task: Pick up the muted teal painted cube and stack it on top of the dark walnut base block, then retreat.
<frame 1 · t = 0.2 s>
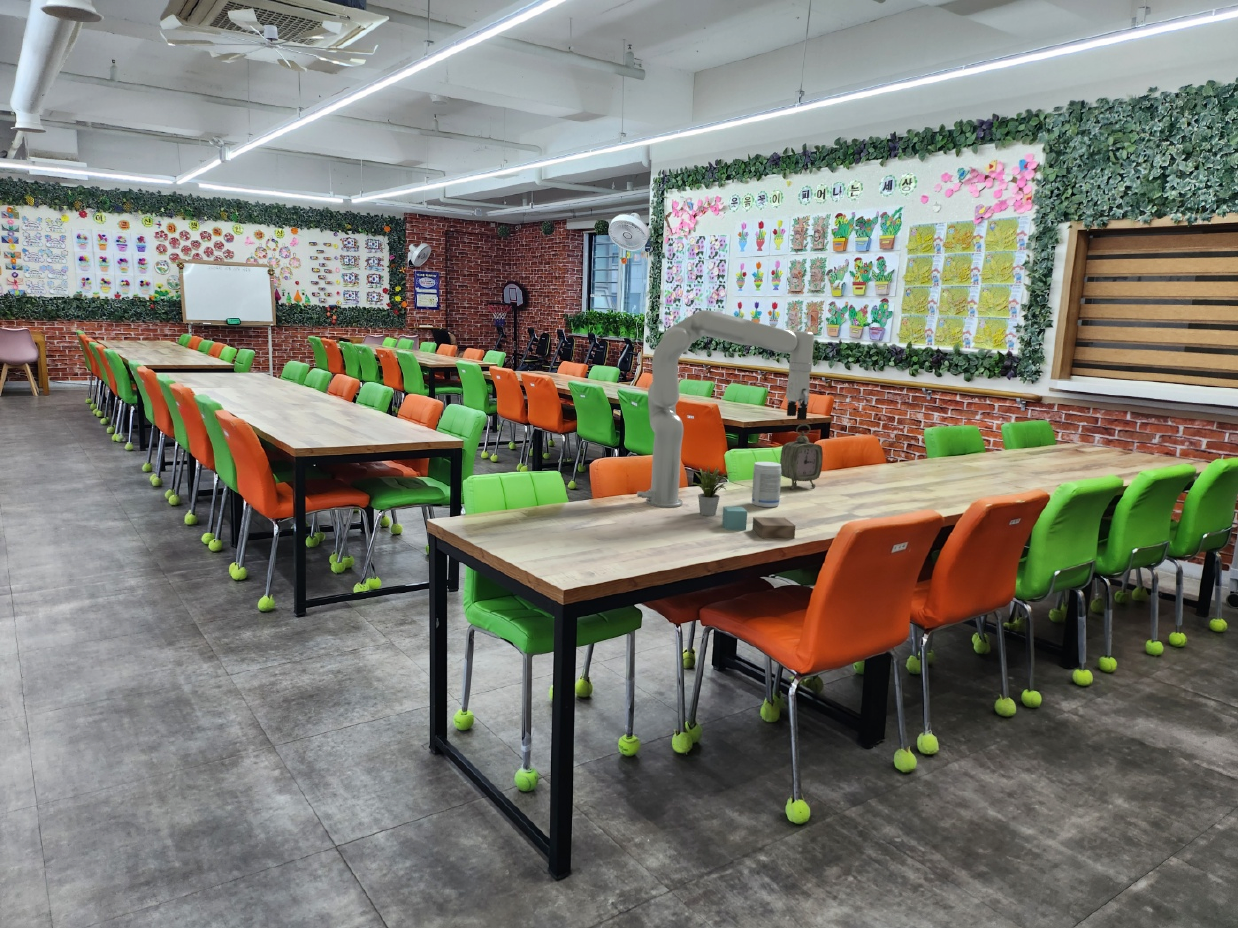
hand: (796, 417, 292), 31 cm above the table, tool pointing down, fingers open, 9 cm apart
walnut base: (773, 534, 256), on the table
house plant: (709, 515, 278), on the table
tabletop clock: (798, 488, 330), on the table
supplement tub: (765, 505, 297), on the table
teal cube: (733, 527, 263), on the table
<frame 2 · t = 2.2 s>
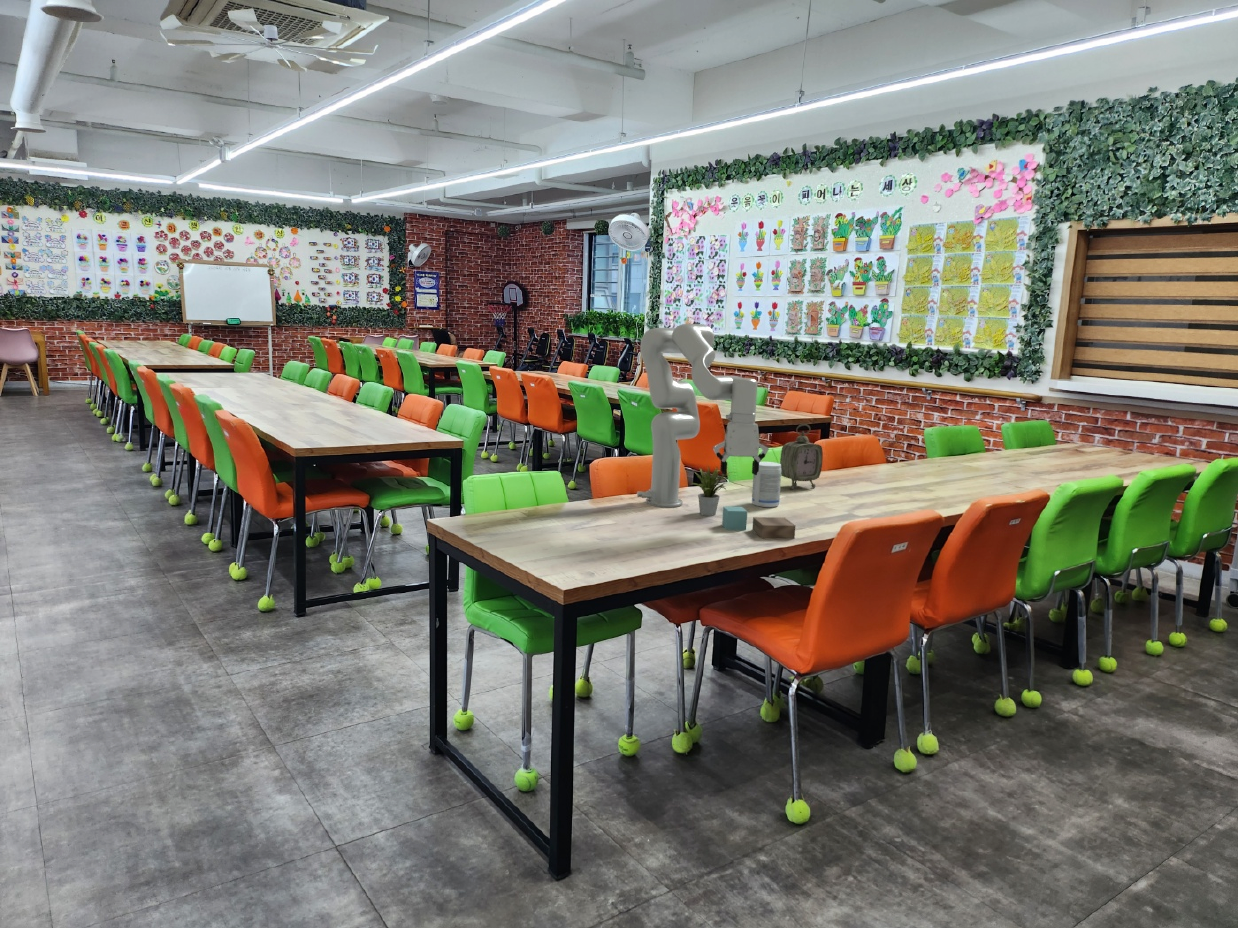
hand: (739, 474, 260), 17 cm above the table, tool pointing down, fingers open, 9 cm apart
nothing on the table moved.
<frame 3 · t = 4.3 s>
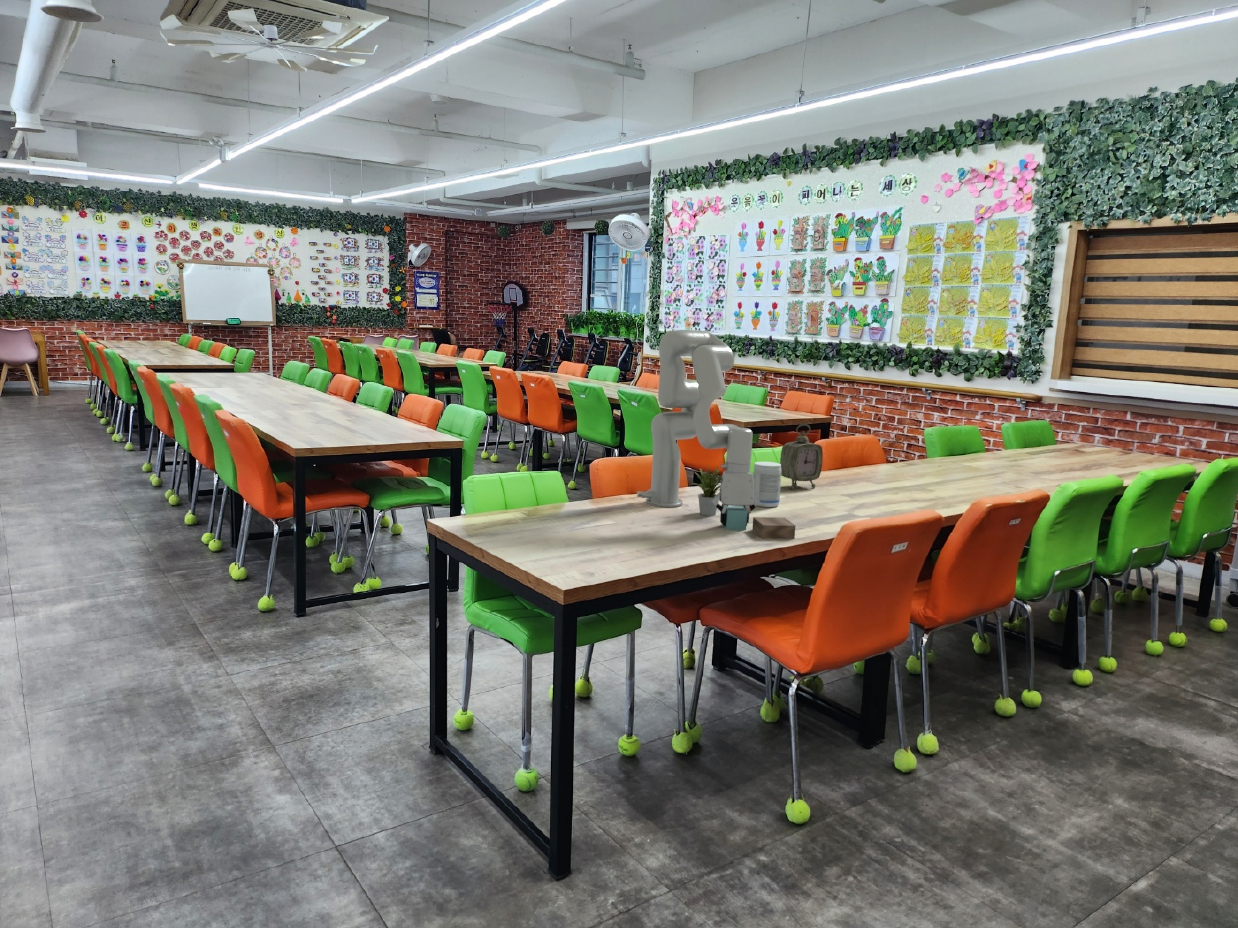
hand: (734, 524, 263), 1 cm above the table, tool pointing down, fingers closed on teal cube, 6 cm apart
teal cube: (734, 527, 263), on the table, touching gripper
everything else where it was.
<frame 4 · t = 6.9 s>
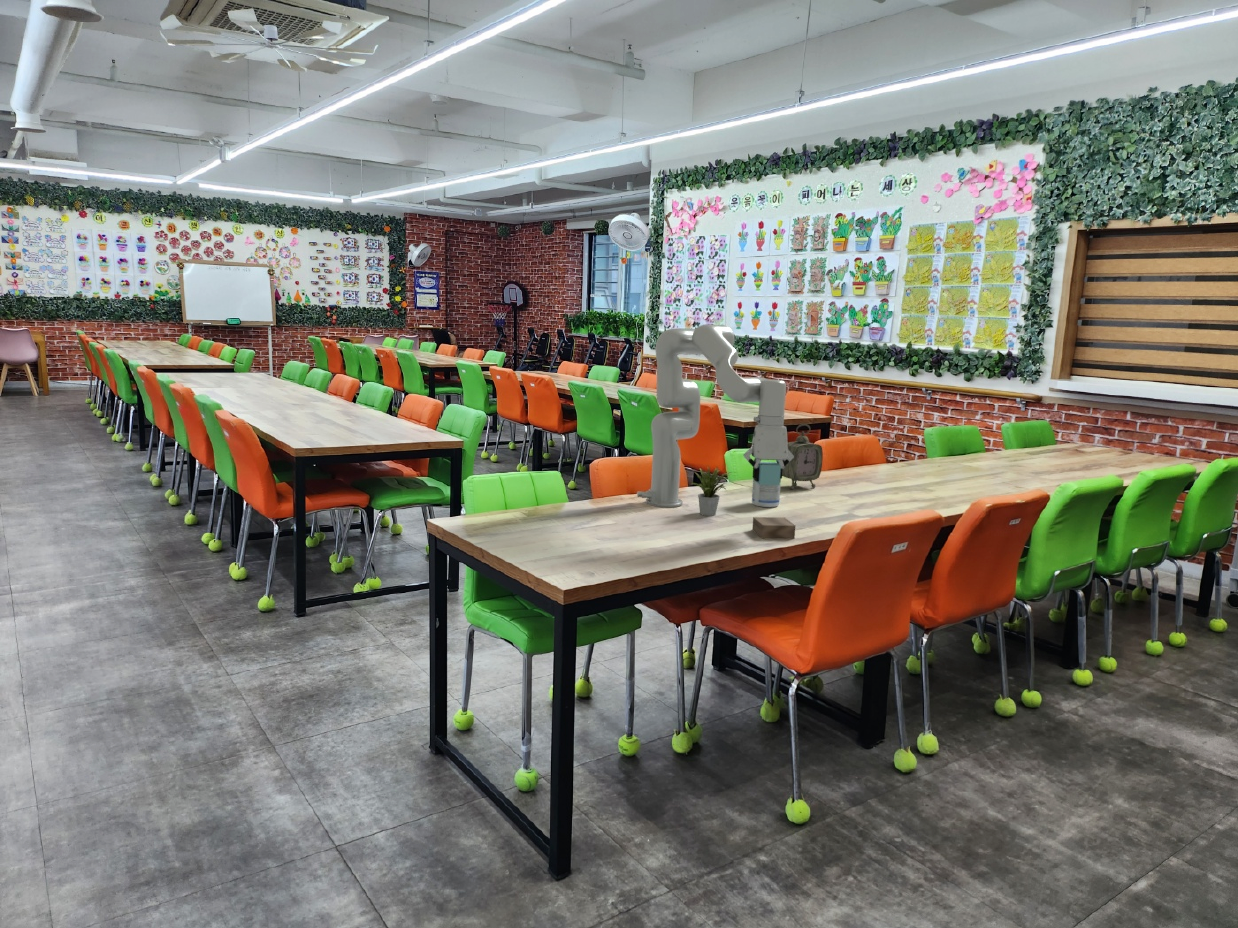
hand: (767, 480, 255), 16 cm above the table, tool pointing down, fingers closed on teal cube, 6 cm apart
teal cube: (766, 483, 255), point 15 cm above the table, touching gripper
everything else where it was.
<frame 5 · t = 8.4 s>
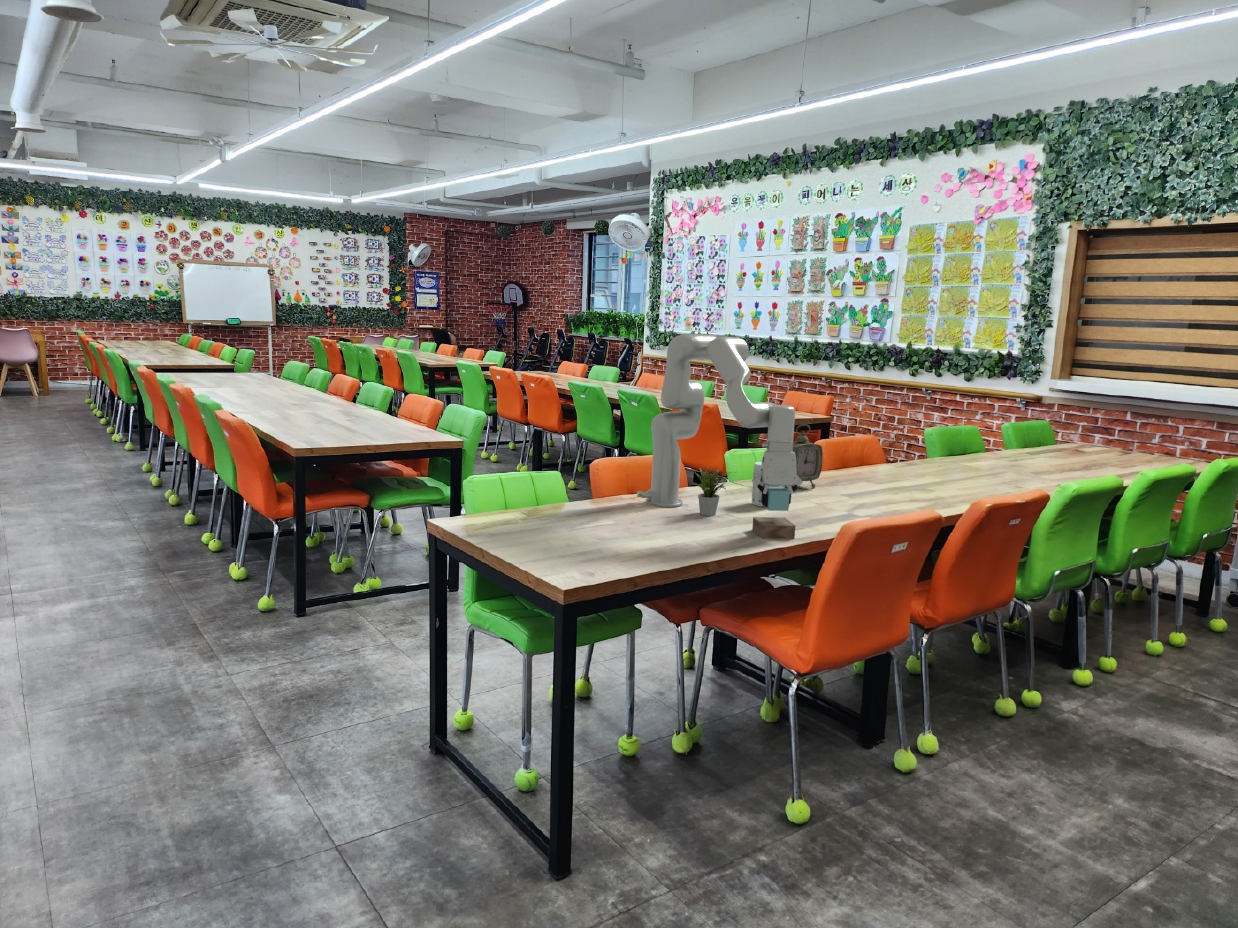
hand: (775, 505, 255), 9 cm above the table, tool pointing down, fingers closed on teal cube, 6 cm apart
teal cube: (775, 508, 255), point 8 cm above the table, touching gripper
everything else where it was.
when the fingers open (6 cm above the table, at t = 9.4 s): teal cube drops 1 cm, resting on walnut base.
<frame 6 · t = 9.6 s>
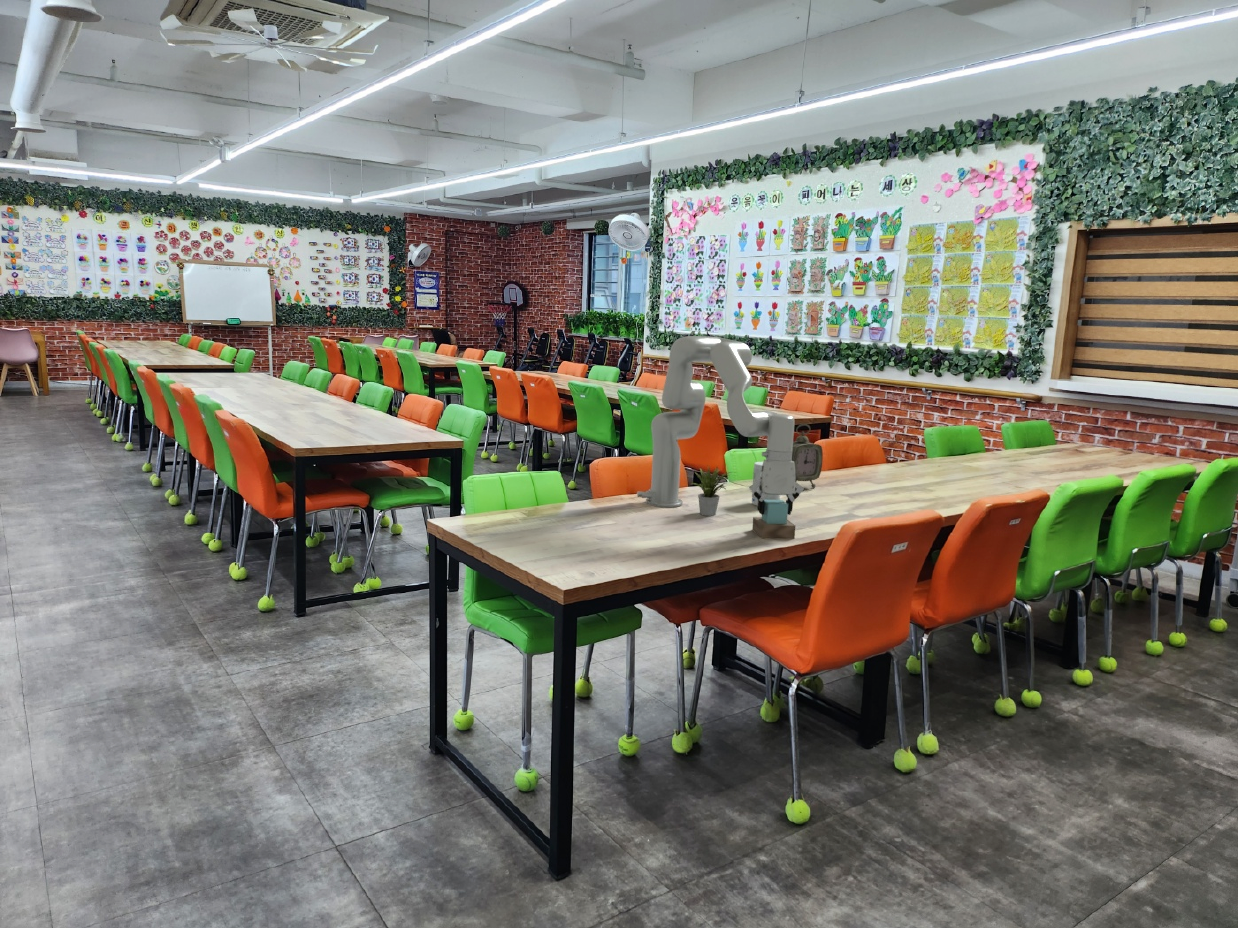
hand: (774, 513, 255), 6 cm above the table, tool pointing down, fingers open, 7 cm apart
teal cube: (774, 521, 256), point 4 cm above the table, touching walnut base
everything else where it was.
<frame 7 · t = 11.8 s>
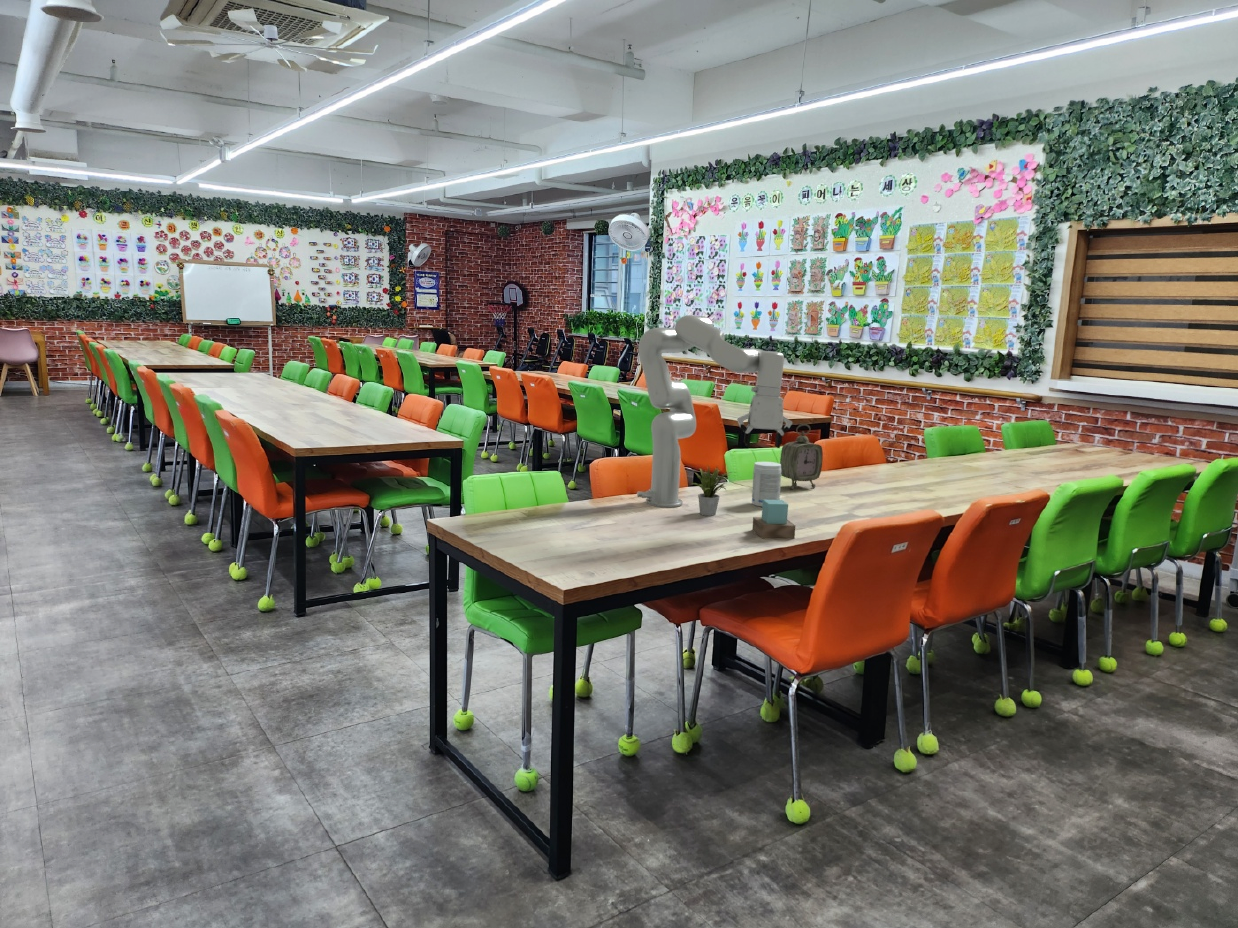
hand: (762, 446, 264), 25 cm above the table, tool pointing down, fingers open, 9 cm apart
nothing on the table moved.
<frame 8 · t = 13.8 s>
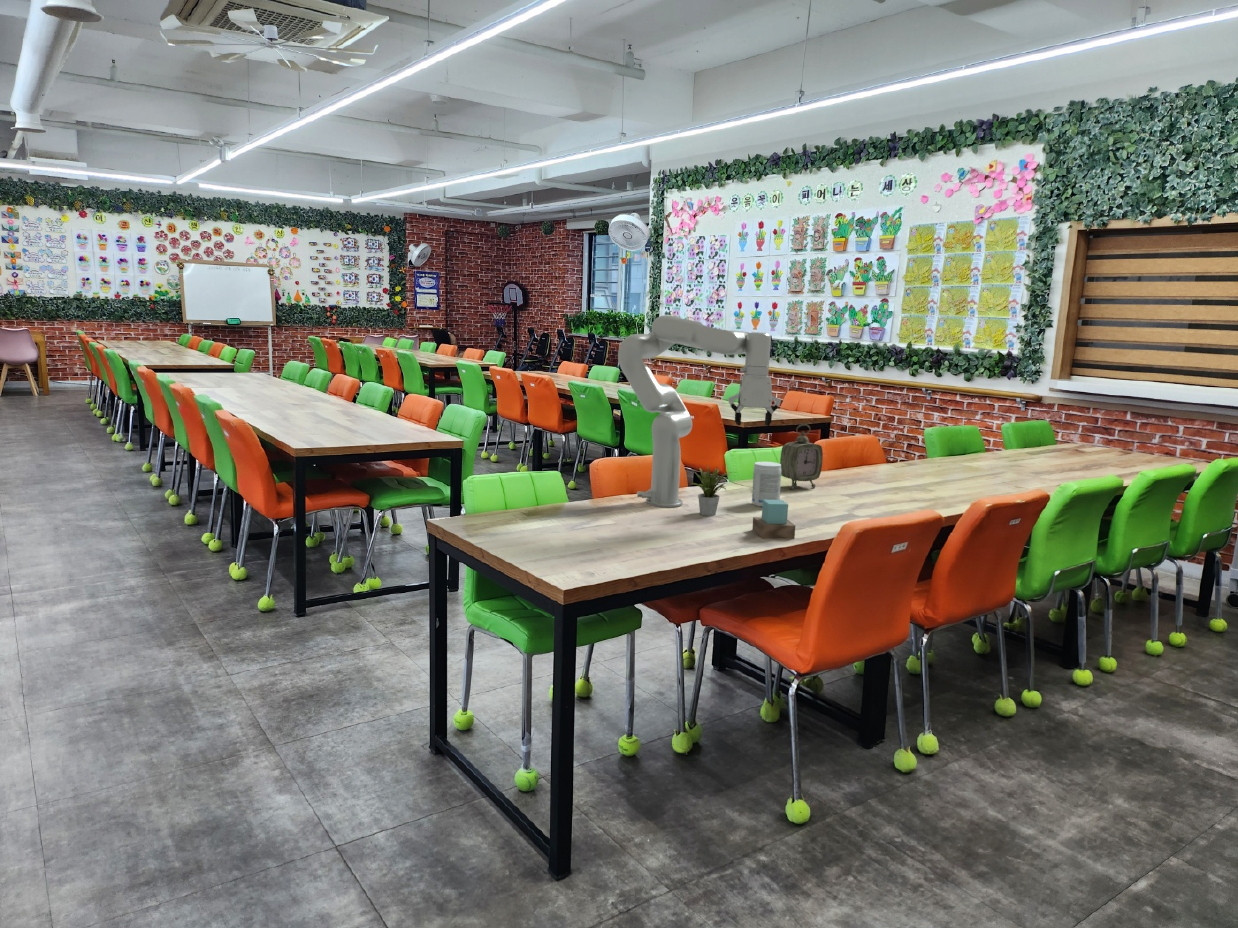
hand: (752, 425, 272), 30 cm above the table, tool pointing down, fingers open, 9 cm apart
nothing on the table moved.
at the end: teal cube inside the target area on the walnut base (0.1 cm from its centre), point 4.0 cm above the walnut base's base; teal cube tilted 0°; the gripper is holding nothing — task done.
